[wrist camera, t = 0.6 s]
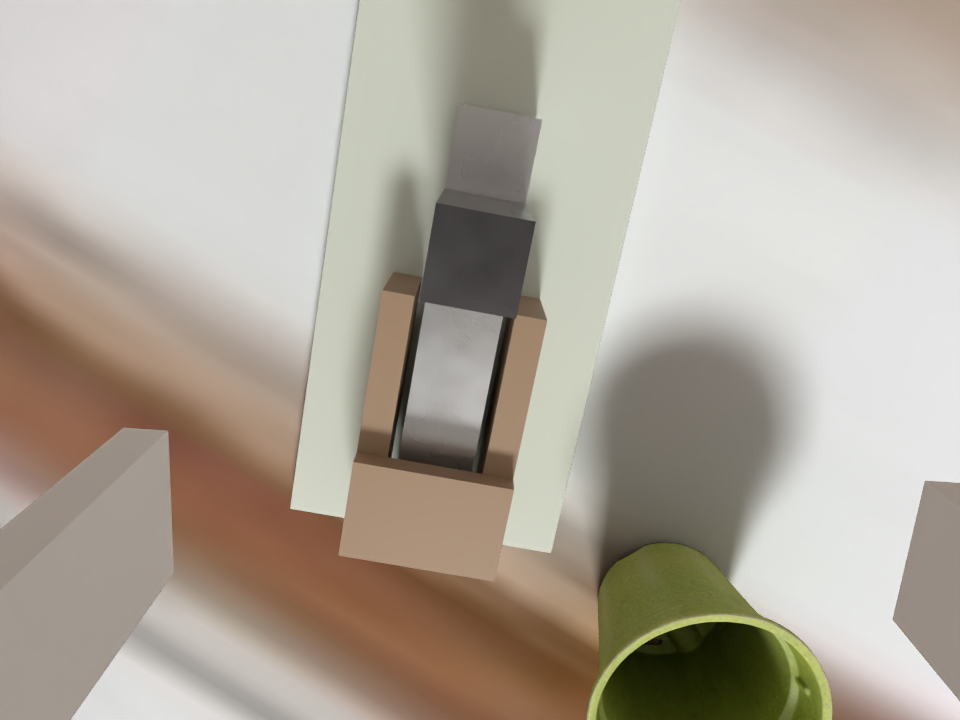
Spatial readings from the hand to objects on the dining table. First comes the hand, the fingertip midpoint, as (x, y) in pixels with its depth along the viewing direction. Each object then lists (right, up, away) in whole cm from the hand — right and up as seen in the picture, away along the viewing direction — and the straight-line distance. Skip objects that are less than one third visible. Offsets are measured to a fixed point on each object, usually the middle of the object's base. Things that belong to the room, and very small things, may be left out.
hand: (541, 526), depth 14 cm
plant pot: (+8, -8, +26) cm, 28 cm away
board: (-1, +10, +20) cm, 22 cm away
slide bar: (-2, +5, +20) cm, 21 cm away
